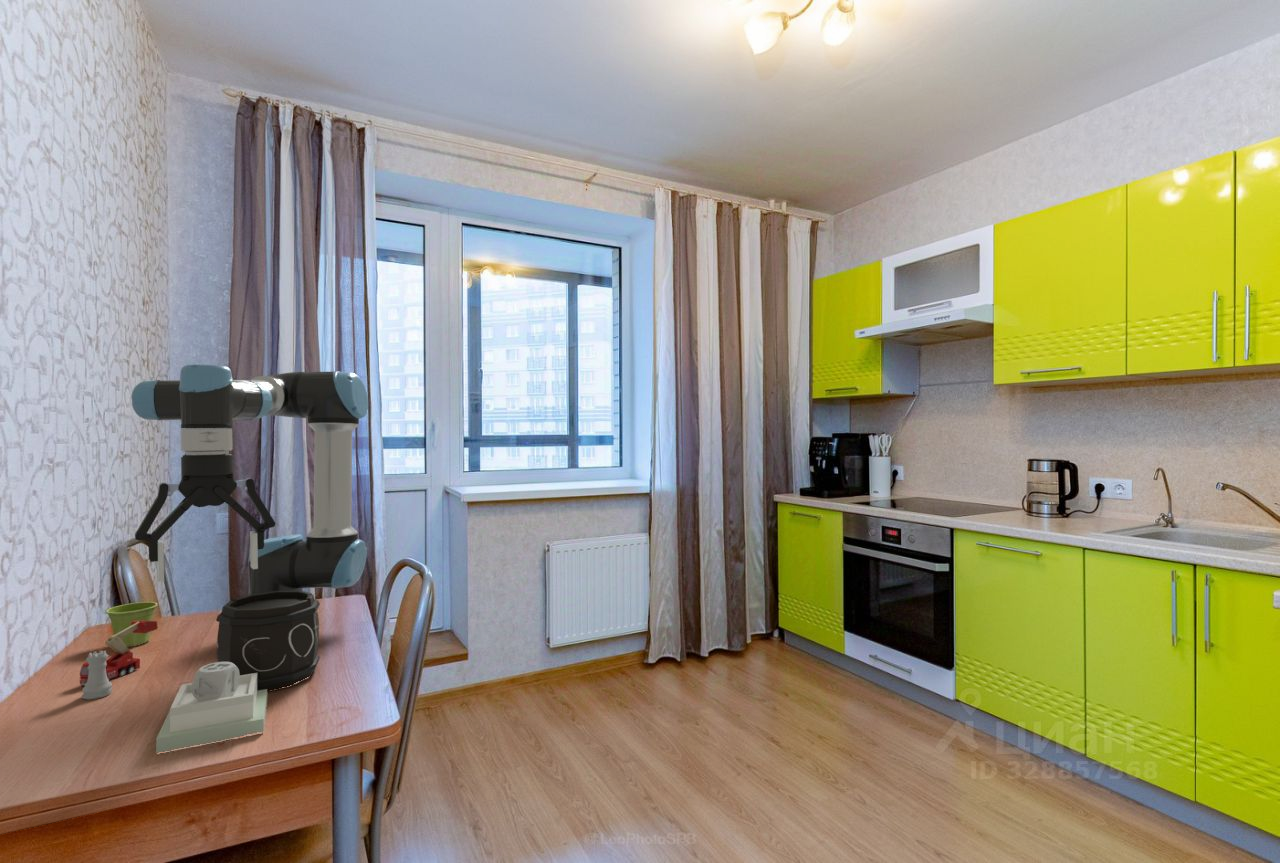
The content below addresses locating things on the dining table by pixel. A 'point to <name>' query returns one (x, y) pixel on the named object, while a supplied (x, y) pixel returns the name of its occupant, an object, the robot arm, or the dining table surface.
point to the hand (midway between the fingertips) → (209, 573)
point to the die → (215, 681)
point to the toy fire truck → (121, 652)
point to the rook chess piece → (97, 677)
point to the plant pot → (131, 620)
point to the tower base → (212, 730)
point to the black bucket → (271, 636)
